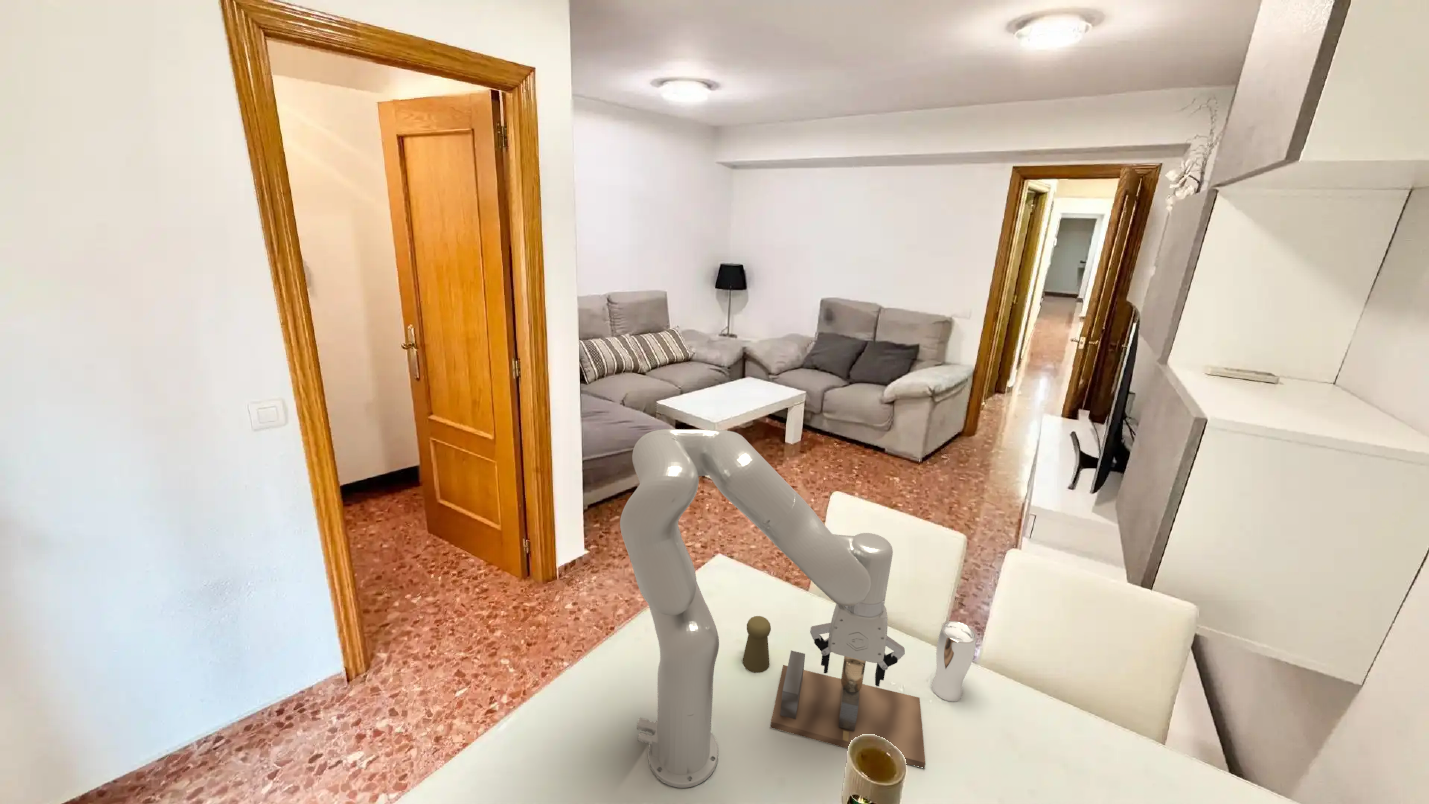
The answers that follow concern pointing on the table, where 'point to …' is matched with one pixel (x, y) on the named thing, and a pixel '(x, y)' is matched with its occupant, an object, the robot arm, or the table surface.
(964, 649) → the beer glass
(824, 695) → the base
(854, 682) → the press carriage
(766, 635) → the olive brown pawn
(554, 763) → the table surface
